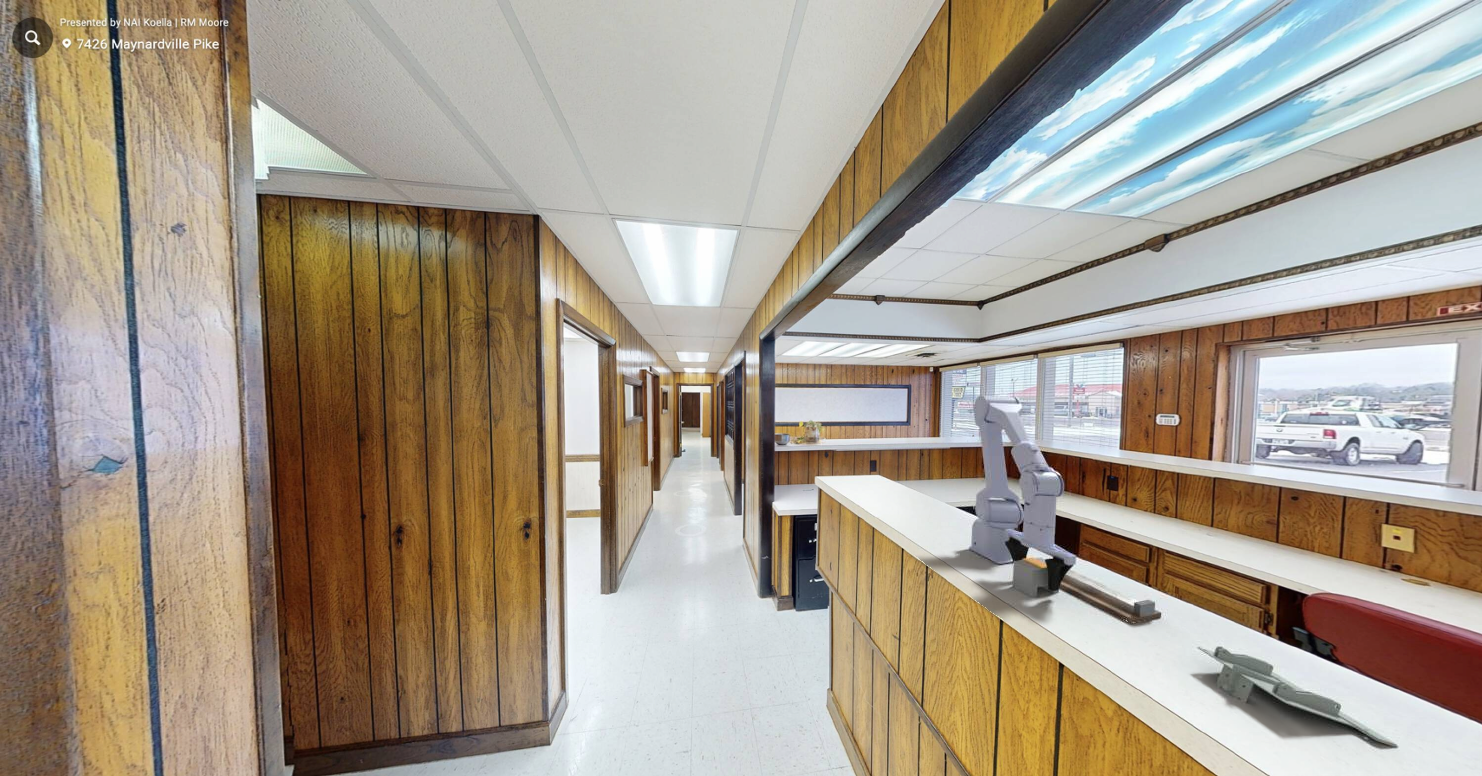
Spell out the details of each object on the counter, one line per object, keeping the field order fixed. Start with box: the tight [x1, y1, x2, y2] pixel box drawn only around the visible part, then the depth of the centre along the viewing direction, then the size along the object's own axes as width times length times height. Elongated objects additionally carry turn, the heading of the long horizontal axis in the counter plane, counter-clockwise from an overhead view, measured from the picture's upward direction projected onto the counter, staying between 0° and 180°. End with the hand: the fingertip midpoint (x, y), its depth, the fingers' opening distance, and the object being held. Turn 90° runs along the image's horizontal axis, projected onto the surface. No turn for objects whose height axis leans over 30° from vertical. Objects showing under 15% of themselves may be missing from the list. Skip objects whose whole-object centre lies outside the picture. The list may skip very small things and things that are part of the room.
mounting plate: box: [1059, 579, 1162, 624], centre depth 86 cm, size 18×9×1 cm, turn 15°
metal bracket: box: [1197, 645, 1399, 748], centre depth 59 cm, size 14×6×15 cm
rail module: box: [1012, 557, 1060, 598], centre depth 87 cm, size 4×8×6 cm, turn 105°
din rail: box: [1063, 569, 1156, 617], centre depth 85 cm, size 18×4×2 cm, turn 15°
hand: (1036, 580), depth 87 cm, fingers open, 7 cm apart
